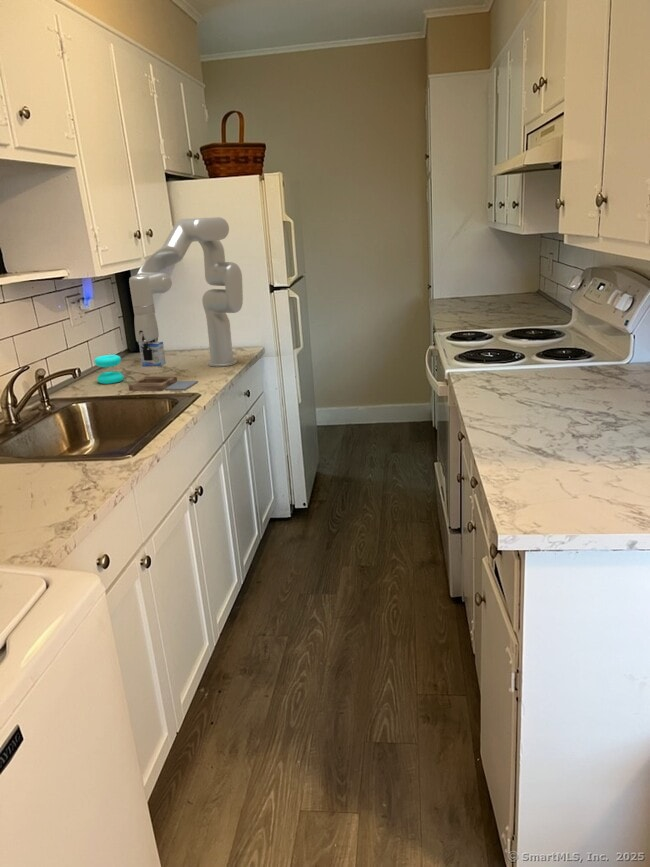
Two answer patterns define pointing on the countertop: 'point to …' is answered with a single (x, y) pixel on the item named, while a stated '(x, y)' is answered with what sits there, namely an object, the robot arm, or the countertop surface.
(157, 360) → the medicine box
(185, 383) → the slate mat
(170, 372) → the countertop surface
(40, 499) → the countertop surface
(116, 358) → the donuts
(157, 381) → the board
